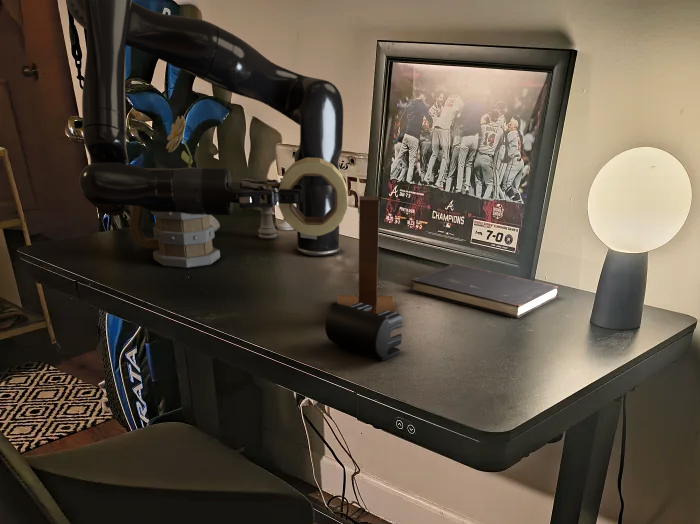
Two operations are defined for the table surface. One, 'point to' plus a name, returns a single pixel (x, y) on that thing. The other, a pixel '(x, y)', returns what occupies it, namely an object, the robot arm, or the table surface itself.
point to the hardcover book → (485, 290)
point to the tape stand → (368, 260)
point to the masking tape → (336, 181)
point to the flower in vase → (174, 140)
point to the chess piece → (284, 226)
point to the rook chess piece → (267, 224)
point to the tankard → (177, 238)
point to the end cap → (364, 330)
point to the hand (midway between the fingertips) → (301, 193)
